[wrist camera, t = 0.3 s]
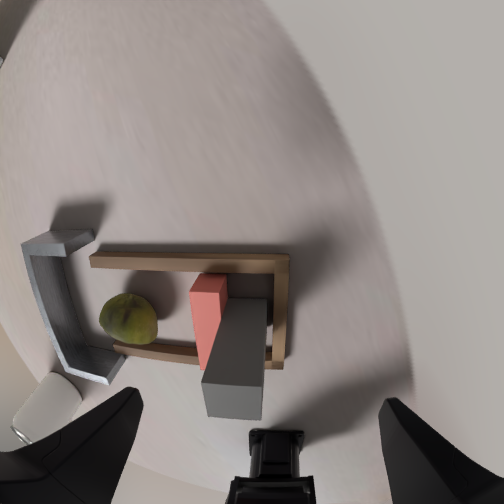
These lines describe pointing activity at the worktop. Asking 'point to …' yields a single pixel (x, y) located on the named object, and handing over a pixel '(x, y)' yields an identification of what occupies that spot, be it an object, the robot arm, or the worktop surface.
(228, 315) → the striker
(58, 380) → the can
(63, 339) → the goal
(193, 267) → the brown wooden flat frame
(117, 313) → the lime
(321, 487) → the worktop surface
